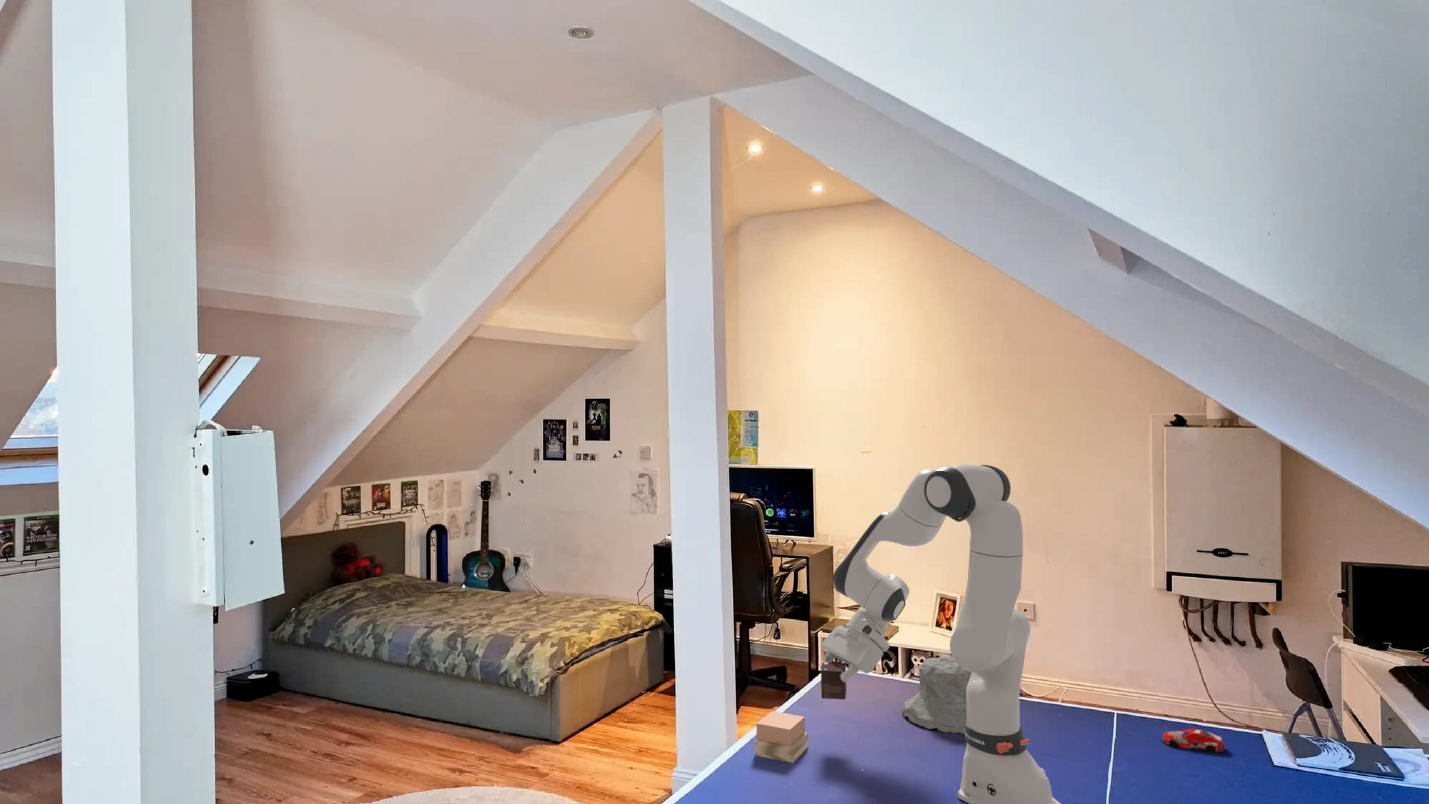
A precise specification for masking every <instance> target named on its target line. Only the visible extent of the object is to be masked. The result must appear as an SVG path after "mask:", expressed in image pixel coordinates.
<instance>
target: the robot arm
mask: <svg viewBox="0 0 1429 804" xmlns="http://www.w3.org/2000/svg"><path fill="white" fill-rule="evenodd" d="M1010 495H1011V483H1010V479H1009V477H1008V475H1007V474H1006V473H1005V472H1004V471H1003V470H1002V469H1000V468H998V467H996V466H994V465H993V466H992V465H988V464H981V465H975V464H959V465H953V466H944V467H941V468H938V469H929V468H928V469H924V470H922V471H920V472H918V473H917V474H916V475H915V477H914V478H913V479H912V480H911V482H910V483H909V485H908V487H907V488H906V489H905V492H904V493H903V495H902V497H901V499H900V501H899V503H898V505H897V506H896V507H895V509H893V510H892V511H883V512H882V513H880V514H879V515H878V516H877V517H875V519H874V520H873V521H872V522H871V523H870V525H868V527H867V529H866V530H865V531H864V532H863V534H862V535H861V537H860V538H858V539H859V540H858V541H857V542H856V543H855V545H854V546H853V547H852V549H851V550H850V552H849V553H848V554H847V556H846V557H845V558H844V559H842V561H841V562H840V563H839V564H838V566H837V567H836V568H835V569H834V573H833V575H832V581H833V585H834V588H835V591H836V592H837V593H839V594H841V595H843V596H844V597H847V598H849V599H850V600H852V601H853V602H855V603H856V604H857V605H859V606H860V608H858V609H857V610H856V611H855V613H854V614H853V615H852V617H851V618H850V620H848V622H847V623H843V624H841V625H839V626H837V627H835V628H834V629H833V630H832V631H831V632H830V633H829V634H828V635H827V637H825V639H824V640H823V642H822V643H821V649H822V650H823V651H824V652H825V654H824V658H823V661H822V663H823V662H831V663H832V662H834V660H835V659H837V660H839V661H840V662H842V663H845V664H846V665H848V668H847V669H846V671H845V672H842V673H841V675H839V679H840V680H841V681H843V682H845V683H846V684H847V682H848V681H849V680H850V678H852V677H853V676H855V675H856V674H858V672H859V671H860V672H862V673H864V674H865V675H867V674H869V673H871V672H872V671H873V670H874V669H875V667H877V665H878V664H879V662H880V661H881V659H882V657H884V652H887V651H888V650H889V648H890V646H891V645H890V643H889V642H888V641H887V639H885V637H884V635H885V633H886V632H887V629H888V626H890V623H891V622H893V621H896V620H897V619H898V617H899V616H900V615H901V614H902V612H903V610H904V609H905V607H906V602H907V599H908V597H909V595H910V588H909V586H908V584H907V583H906V582H905V581H904V580H903V579H902V578H900V577H899V576H897V575H894V574H891V573H890V574H886V575H884V574H882V573H880V572H879V571H877V570H876V569H875V568H873V567H872V566H870V565H869V564H868V561H867V559H868V558H869V556H870V555H871V554H872V552H873V551H874V549H875V548H876V547H877V545H879V543H881V542H887V543H888V542H889V543H894V544H898V545H902V546H905V547H906V546H907V547H919V546H920V547H921V546H924V545H927V544H929V543H930V542H932V541H933V540H934V539H935V537H936V535H937V534H938V532H939V531H940V529H941V528H942V527H943V524H944V521H945V519H946V517H949V518H950V519H952V520H954V521H955V522H957V523H958V522H959V523H960V522H963V521H964V520H965V521H966V523H967V524H968V526H969V530H970V531H969V532H970V537H969V538H970V540H969V541H970V542H969V554H968V556H969V557H968V570H967V582H966V583H967V584H966V589H965V592H964V598H963V601H962V605H961V609H960V612H959V616H958V620H957V624H956V627H955V629H954V632H953V633H952V635H951V637H950V640H949V649H950V650H949V651H950V654H951V656H952V659H954V660H955V661H956V663H957V664H958V665H959V666H960V667H962V668H963V669H965V670H967V671H970V672H972V673H971V677H970V680H969V682H968V684H967V689H966V703H967V721H966V723H965V729H964V741H965V743H966V746H965V752H964V754H963V755H964V756H963V760H962V771H961V772H962V773H961V783H960V788H959V790H958V792H957V798H958V799H960V800H961V801H963V802H965V803H967V804H1061V802H1060V801H1058V800H1057V799H1056V798H1055V797H1053V793H1052V786H1051V783H1050V779H1049V778H1048V777H1047V772H1046V771H1045V769H1044V768H1043V767H1040V766H1039V765H1038V763H1037V762H1036V761H1035V759H1034V758H1033V756H1032V755H1031V754H1030V752H1029V751H1028V750H1027V748H1028V747H1027V745H1029V744H1030V742H1028V741H1030V738H1025V735H1024V732H1023V730H1022V727H1021V726H1020V724H1021V723H1020V691H1021V690H1020V689H1021V683H1022V676H1023V670H1024V665H1025V658H1026V656H1025V655H1026V650H1027V646H1028V641H1029V639H1030V637H1031V627H1030V626H1031V625H1030V623H1029V620H1028V619H1027V617H1026V616H1025V614H1023V613H1022V612H1021V611H1020V610H1018V609H1016V608H1015V605H1016V602H1017V600H1018V597H1019V595H1020V592H1021V589H1022V577H1023V576H1022V573H1023V557H1024V534H1023V525H1022V517H1021V513H1020V510H1019V509H1018V508H1017V506H1015V505H1014V504H1012V503H1010V502H1009V501H1008V500H1009V499H1010ZM822 663H820V664H821V665H820V667H819V668H820V669H821V668H822Z"/></svg>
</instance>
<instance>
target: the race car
mask: <svg viewBox="0 0 1429 804" xmlns="http://www.w3.org/2000/svg"><path fill="white" fill-rule="evenodd" d="M1161 739H1162V742H1163V743H1164V744H1166V745H1168V746H1170V747H1171V748H1172V747H1173V748H1178V747H1179V748H1182V749H1189V750H1195V751H1204V752H1207V753H1213V754H1214V753H1221V752H1225V748H1226V747H1225V742H1224V741H1223V738H1222V737H1221V736H1218V735H1216V734H1214V733H1212V732H1209V731H1205V730H1202V729H1195V728H1188V729H1183V730H1180V731H1179V730H1178V731H1177V730H1171V731H1166V732H1164V733H1163V734H1162V737H1161Z"/></svg>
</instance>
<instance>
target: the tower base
mask: <svg viewBox="0 0 1429 804" xmlns="http://www.w3.org/2000/svg"><path fill="white" fill-rule="evenodd" d="M808 748H809V732H805V733H804V734H803V735H802V736H801V737H800V738H799V739H798V740H797V741H796V742H795V743H793V744H792V745H791V746H786V745H781V744H776V743H771V742H766V741H761V740H757V739H755V740H754V755H755V757H760V758H765V759H770V760H771V759H772V760H775V759H776V760H775V761H781V762H785V761H787V762H786V763H790V762H791V763H792V764H794V763H795V762H794V761H797V759H798V758H799V757H801V755H802V754H803V753H804V752H805V751H806V750H807V749H808Z"/></svg>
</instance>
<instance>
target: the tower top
mask: <svg viewBox="0 0 1429 804" xmlns="http://www.w3.org/2000/svg"><path fill="white" fill-rule="evenodd" d="M755 726H756V727H755V728H756V740H761V741H766V742H771V743H776V744H781V745H786V746H791V745H792V744H793V743H795V742H796V741H797V740H798V739H799V738H800V737H801V736H802V735H803V734H804V733H806V717H805V716H801V715H796V714H790V713H785V712H779V711H774V710H773V711H772V710H771V711H770V712H769V713H767V714H766V715H765V716H763V718H761V719H759V721H757V722H756V725H755Z"/></svg>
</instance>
